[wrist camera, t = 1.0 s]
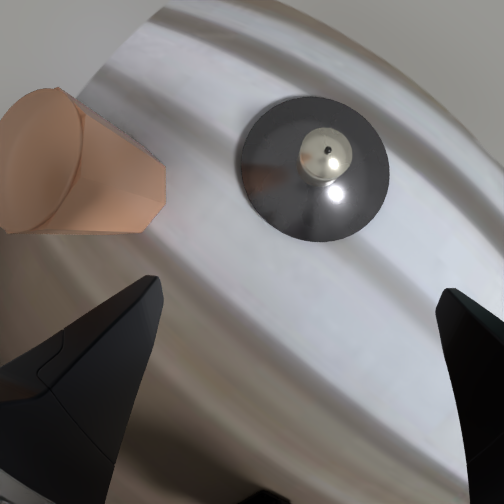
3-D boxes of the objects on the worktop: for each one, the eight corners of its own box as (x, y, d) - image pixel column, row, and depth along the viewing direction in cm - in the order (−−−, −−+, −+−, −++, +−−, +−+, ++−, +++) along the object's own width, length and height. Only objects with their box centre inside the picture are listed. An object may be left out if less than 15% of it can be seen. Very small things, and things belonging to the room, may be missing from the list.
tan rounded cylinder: (126, 252, 23) (19, 263, 11) (76, 196, 23) (-31, 175, 11) (183, 183, 23) (105, 134, 11) (126, 131, 23) (37, 68, 11)
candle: (322, 273, 22) (335, 282, 18) (211, 171, 23) (196, 155, 18) (411, 168, 22) (440, 154, 17) (307, 76, 22) (314, 44, 17)
